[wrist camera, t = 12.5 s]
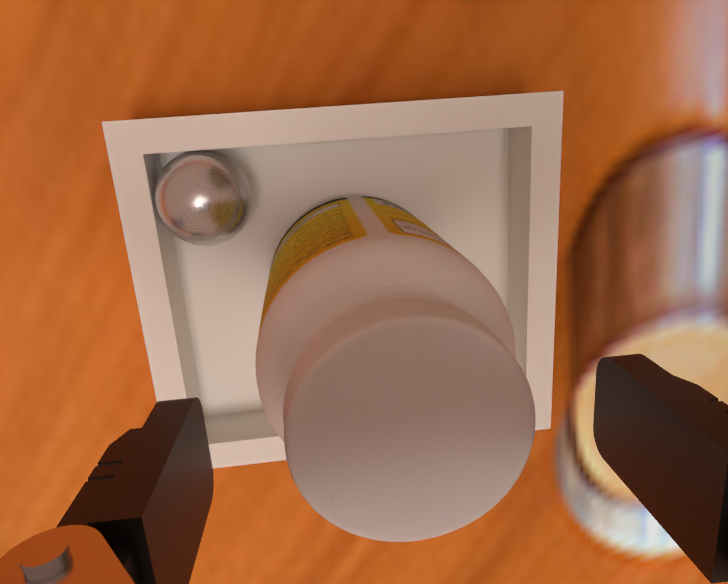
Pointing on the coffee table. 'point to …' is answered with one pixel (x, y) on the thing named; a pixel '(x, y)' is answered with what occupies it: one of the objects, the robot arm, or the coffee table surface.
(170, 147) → the tray
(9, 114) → the coffee table surface
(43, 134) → the coffee table surface
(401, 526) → the pill bottle
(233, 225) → the steel ball
